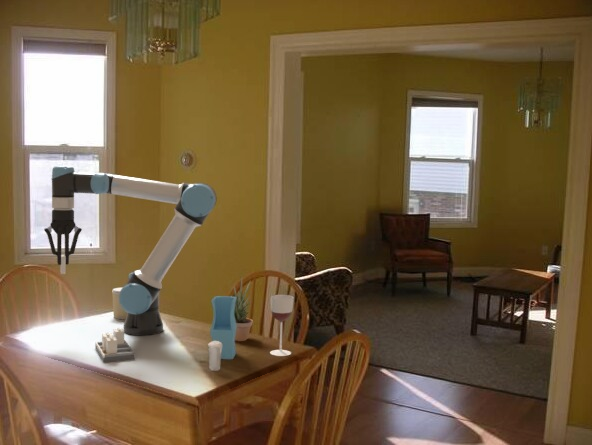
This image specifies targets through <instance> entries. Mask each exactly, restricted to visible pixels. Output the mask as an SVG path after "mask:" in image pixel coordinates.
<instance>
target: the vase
mask: <svg viewBox="0 0 592 445" xmlns="http://www.w3.org/2000/svg"><path fill="white" fill-rule="evenodd" d="M236 299H237V297H235V296H232V297H231V296H225V295H223V296H222V295H216V296H213V298H212V299H210V300H211V305H212V306H211V307H212V309H213V312H212V314H213V318H212V323H211V326H210V330H209V331H210V332H209V333H210V336H211V337H210V339H211V342H213V341H219V342H221V343H222V352H221V360H233V359H234V358H235V356H236V354H237V350H236V341H235V334H236V329H237V324H236V321H235V316H234V308H235V303H236Z"/></svg>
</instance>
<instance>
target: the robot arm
mask: <svg viewBox="0 0 592 445" xmlns="http://www.w3.org/2000/svg"><path fill="white" fill-rule="evenodd" d="M75 194H95V195H101V194H103V195H104V194H109V195H117V196H123V197H130V198H134V199H135V198H136V199H143V200H149V201H155V202H161V203H168V204H174V205H175V204H176V206H175V207H174V208H173V209H174V214H175V215H174V216H173V218H172V220H171V221H170V222H169V224H168V226H167V227H166V229H165V231H164V232H163V233H162V235H161V237H160V238H159V240H158V242H157V243H156V245H155V246H154V248H153V249H152V250H151V253H150V254H149V255H148V258H146V260H145V262H144V264H143V265H142V267H141V268H140V269H137V270H134V272H130V273H129V274H128V279H127V280H128V281H127V282H126V284H125V285H124V286H123V288H122V289H121V291H120V294H119V303H120V305H121V307H122V308H123V309H124V310H125V311H126V312H128V314H127V317H126V319H124V324H123V330H124V334H128V335H134V336H150V335H151V336H152V335H156V334H160V333H162V332H163V331H164V322H163V320H162V316H161V314H160V291H161V289H162V288H163V285H162V280H164V277H165V276H166V274H167V273H168V271H169V269H171V268H170V267H171V266H172V265H173V263H174V262H175V260H176V258H177V257H178V255H179V254H180V253H181V251H182V249H183V247H184V246H185V244H186V243H187V241H188V240H189V238H190V237H191V235H192V233H193V232H194V231H195V229H196V228H197V227H201V226H203V224H204V222H205V221H206V220H207V218H208V216H209V214H210V213H211V212H212V210H213V209H214V208H215V206H216V203H217V193H216V191H215V189H214V188H213V187H212V186H210V184H208V183H204V182H200V183H199V182H197V183H189V182H182V183H181V184H179V183H171V182H164V181H159V180H152V179H151V180H150V179H145V178H139V177H131V176H125V175H118V174H113V173H107V172H101V171H98V172H78V171H75V168H74V166H62V165H61V166H60V165H57V166H53V168H52V171H51V208H52V210H51V223H50V225H49V226H47V227H44V232H45V233H46V235H47V240H48V243H49V246H50V250H51V254H52V255H55V256H56V257H57V258H56V262H57V265H58V266H60V268H59V269H60V275H66V271H67V270H66V266H67V265H69V263H70V262H69V261H70V255H73V254H75V250H76V246H77V242H78V239H79V235H80V234H81V233H82V227H78V225H77V224H76V222H75V211H74V208H75ZM73 231H74V234H73V238H72V242H71V246H70V234H71V233H72V232H73ZM52 232H55V234H56V247H55V244H54V238H53V236H52ZM62 235H63V236H64V255H63V254H62ZM56 249H57V250H56Z"/></svg>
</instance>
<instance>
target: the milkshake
mask: <svg viewBox="0 0 592 445" xmlns="http://www.w3.org/2000/svg"><path fill="white" fill-rule="evenodd" d="M205 341H206V343H207V350H208V365H209V366H208V368H209V371H212V372H217V371H220V370H221V362H222V359H221V352H222V343H221V342H219V341H213V342H212V341H210V342H209V343H208V341H207V339H205Z"/></svg>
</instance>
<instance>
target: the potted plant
mask: <svg viewBox="0 0 592 445" xmlns="http://www.w3.org/2000/svg"><path fill="white" fill-rule="evenodd" d="M250 285H251V279H250V280H249V282H248V284H247V287H246V288H245V291H244V293H243V276H241V280H240V289H239V291H238V292H237V291H236V290H237V289H236V286H235V285H233V291H234V297H237V299H236V303H235V308H234V316H235V321H236V324H237V329H236V334H235V342H244V341H247V340H248V337H249V334H250V330H251V328H252V326H253V323H254V321H253V319H251V318H248V314H249V311H250V308H248V307H249V306H250V305H251V301H252V299H251V300H250V296H251V295H250V294H249V296H248V297H247V298H246V295H247V293H248V291H249V288H250ZM230 297H233V296H232V295H230ZM245 298H246V299H245ZM246 304H247V305H246ZM247 308H248V309H247Z"/></svg>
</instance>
